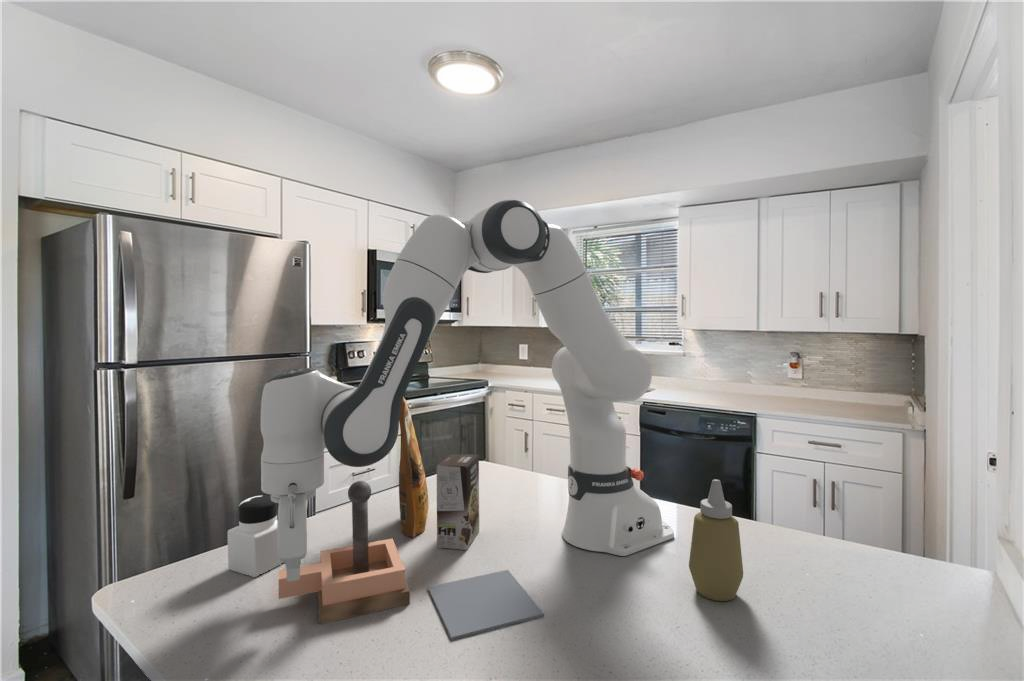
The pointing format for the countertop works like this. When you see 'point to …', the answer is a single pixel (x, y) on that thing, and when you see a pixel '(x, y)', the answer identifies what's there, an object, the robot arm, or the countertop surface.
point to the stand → (361, 566)
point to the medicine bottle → (254, 537)
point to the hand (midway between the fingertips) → (294, 564)
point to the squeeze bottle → (716, 548)
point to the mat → (482, 603)
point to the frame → (347, 586)
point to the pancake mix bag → (411, 479)
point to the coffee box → (457, 501)
